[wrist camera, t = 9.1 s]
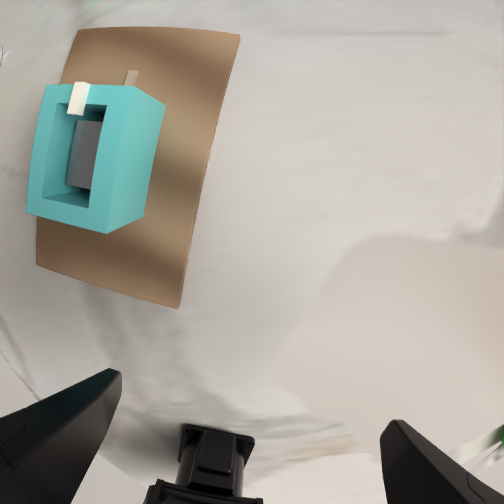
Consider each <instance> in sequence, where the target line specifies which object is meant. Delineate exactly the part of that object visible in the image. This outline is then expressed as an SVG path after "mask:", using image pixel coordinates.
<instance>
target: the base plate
mask: <svg viewBox="0 0 504 504" xmlns="http://www.w3.org/2000/svg"><path fill="white" fill-rule="evenodd" d="M239 43H240V35H238V34H231V33H224V32H217V31H208V30H199V29H187V28H172V27H108V28H93V29H82V30H78V32H77V35H76V37H75V40H74V43H73V45H72V48H71V51H70V54H69V57H68V60H67V63H66V66H65V69H64V72H63V76H62V79H61V82H60V85H61V84H75V82H86V83H89V84H95V85H121V86H135V87H137V88H138V89H140V90H141V91H143V92H145V93H146V94H148V95H150V96H151V97H153V98H155V99H156V100H158V101H159V102H161V103H163V104H164V105H166V108H165V112H164V116H163V120H162V124H161V129H160V133H159V137H158V142H157V146H156V151H155V155H154V160H153V165H152V170H151V175H150V181H149V186H148V192H147V197H146V203H145V209H144V216H143V217H142V218H140V219H138V220H135V221H133V222H131V223H129V224H127V225H124V226H122V227H120V228H118V229H116V230H114V231H112V232H109V233H107V234H105V233H101V232H98V231H94V230H90V229H86V228H82V227H78V226H74V225H70V224H66V223H63V222H59V221H55V220H51V219H47V218H43V217H40V216H38V218H37V243H36V265H38V266H41V267H44V268H47V269H49V270H52V271H55V272H58V273H61V274H64V275H66V276H69V277H72V278H75V279H78V280H81V281H84V282H87V283H90V284H93V285H97V286H100V287H103V288H106V289H109V290H112V291H116V292H119V293H122V294H126V295H129V296H132V297H136V298H139V299H143V300H146V301H150V302H153V303H157V304H160V305H164V306H168V307H171V308H175V309H178V307H179V305H180V301H181V295H182V289H183V283H184V277H185V271H186V266H187V260H188V255H189V249H190V244H191V239H192V234H193V228H194V223H195V218H196V214H197V209H198V204H199V199H200V194H201V190H202V185H203V181H204V176H205V172H206V167H207V163H208V159H209V154H210V150H211V146H212V142H213V138H214V134H215V130H216V126H217V122H218V118H219V114H220V110H221V106H222V103H223V99H224V95H225V91H226V88H227V84H228V80H229V77H230V73H231V70H232V66H233V63H234V59H235V56H236V53H237V49H238V46H239ZM104 116H105V115H101V118H100V122H103V121H104ZM88 190H91V189H88Z"/></svg>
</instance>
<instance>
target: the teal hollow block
mask: <svg viewBox="0 0 504 504" xmlns="http://www.w3.org/2000/svg"><path fill="white" fill-rule="evenodd" d="M165 108H166V105H164V104H163V103H161V102H159V101H158V100H156V99H155V98H153V97H151V96H150V95H148V94H146V93H145V92H143V91H141V90H140V89H138V88H137V87H135V86H121V85H95V84H89V83H86V82H75V84H61V85H46V88H45V92H44V96H43V100H42V104H41V108H40V113H39V117H38V122H37V127H36V132H35V137H34V143H33V149H32V155H31V162H30V170H29V178H28V188H27V200H26V213H28V214H32V215H36V216H40V217H43V218H47V219H51V220H55V221H59V222H63V223H66V224H70V225H74V226H78V227H82V228H86V229H90V230H94V231H98V232H101V233H105V234H107V233H109V232H112V231H114V230H116V229H118V228H120V227H122V226H124V225H127V224H129V223H131V222H133V221H135V220H138V219H140V218H142V217H143V216H144V209H145V203H146V197H147V192H148V186H149V181H150V175H151V170H152V165H153V160H154V155H155V151H156V146H157V142H158V137H159V133H160V129H161V124H162V120H163V116H164V112H165ZM101 115H105V116H104V121H103V125H102V130H101V134H100V139H99V144H98V149H97V154H96V160H95V166H94V172H93V178H92V185H91V190H88V189H86V188H81V187H76V186H71V185H66V182H67V175H68V168H69V162H70V156H71V150H72V145H73V140H74V135H75V130H76V125H77V121H78V120H84V121H95V122H100V118H101Z"/></svg>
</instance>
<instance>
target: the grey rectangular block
mask: <svg viewBox="0 0 504 504" xmlns="http://www.w3.org/2000/svg"><path fill="white" fill-rule="evenodd" d="M102 125H103V122H95V121H84V120H78V121H77V125H76V130H75V135H74V140H73V145H72V150H71V156H70V162H69V168H68V175H67V182H66V185H71V186H76V187H81V188H86V189H91V185H92V178H93V172H94V166H95V160H96V154H97V149H98V144H99V139H100V134H101V130H102Z"/></svg>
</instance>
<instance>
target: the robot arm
mask: <svg viewBox="0 0 504 504" xmlns="http://www.w3.org/2000/svg"><path fill="white" fill-rule="evenodd" d="M121 393H122V375H121V372H119V371H117V370H114V369H111V368H108V369H106V370H104V371H102V372H99V373H97V374H95V375H93V376H91V377H89V378H87V379H85V380H83V381H81V382H79V383H77V384H75V385H73V386H71V387H68V388H66V389H64V390H62V391H60V392H58V393H56V394H54V395H51V396H49V397H47V398H45V399H43V400H41V401H38V402H36V403H34V404H32V405H30V406H28V407H27V408H23V409H21V410H19V411H16V412H14V413H11V414H9V415H6V416H4V417H1V418H0V504H71V502H72V500H73V498H74V496H75V494H76V492H77V490H78V488H79V486H80V484H81V482H82V480H83V478H84V476H85V474H86V472H87V470H88V468H89V466H90V464H91V462H92V460H93V459H94V456H95V455H96V453H97V451H98V449H99V447H100V445H101V443H102V442H103V440H104V438H105V436H106V434H107V431H108V428H109V426H110V423H111V420H112V418H113V415H114V413H115V410H116V407H117V405H118V402H119V400H120V397H121ZM254 445H255V440H254V439H253V438H251V437H245V436H239V435H234V434H229V433H223V432H218V431H214V430H209V429H205V428H200V427H196V426H192V425H184V427H183V431H182V437H181V444H180V450H179V457H178V462H179V463H180V466H179V470H178V474H177V478H176V482H175V484H173V483H169V482H165V481H164V480H161V479H157V482H156V484H155V485H150V486H149V488H148V492H147V495H146V498H145V500H144V503H143V504H263V498H246V497H242V486H243V470H244V467H245V465H246V463H247V461H248V459H249V456H250V454H251V452H252V450H253V447H254ZM380 449H381V460H382V473H383V480H384V486H385V492H386V498H387V504H504V496H503V495H502V494H500V493H499V492H497V491H495V490H494V489H492V488H490V487H489V486H487V485H486V484H484V483H483V482H481V481H480V480H478V479H477V478H476V477H474V476H473V475H472V474H470V473H469V472H468V471H466V470H465V469H464V468H463V467H461V466H460V465H459V464H457V463H456V462H455V461H454V460H452V459H451V458H450V457H449V456H447V455H446V454H445V453H443V452H442V451H441V450H440V449H438V448H437V447H436V446H435V445H433V444H432V443H431V442H430V441H428V440H427V439H426V438H425V437H423V436H422V435H421V434H420V433H418V432H417V431H416V430H415V429H413V428H412V427H411V426H410V425H408V424H407V423H406V422H405V421H404V420H392V421H390V423H389V424H388V426H387V427H386V429H385V430H384V431H383V433H382V434H381V437H380Z"/></svg>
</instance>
